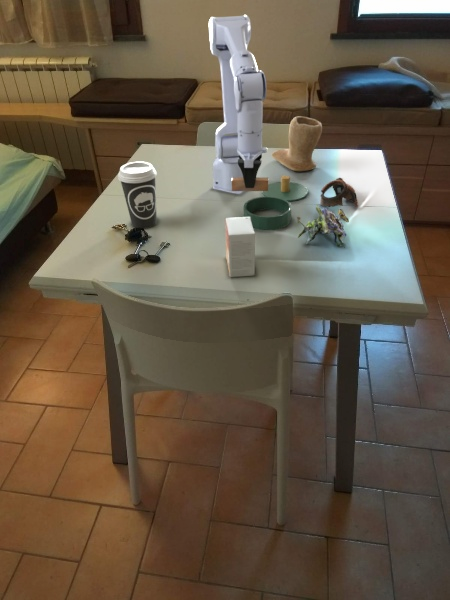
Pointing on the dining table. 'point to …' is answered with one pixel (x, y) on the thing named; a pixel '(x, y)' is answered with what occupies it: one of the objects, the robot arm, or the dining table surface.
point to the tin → (268, 221)
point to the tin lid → (286, 190)
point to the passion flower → (326, 225)
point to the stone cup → (300, 144)
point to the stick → (260, 185)
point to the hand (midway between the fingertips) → (250, 185)
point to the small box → (240, 246)
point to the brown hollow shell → (338, 193)
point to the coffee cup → (139, 192)
